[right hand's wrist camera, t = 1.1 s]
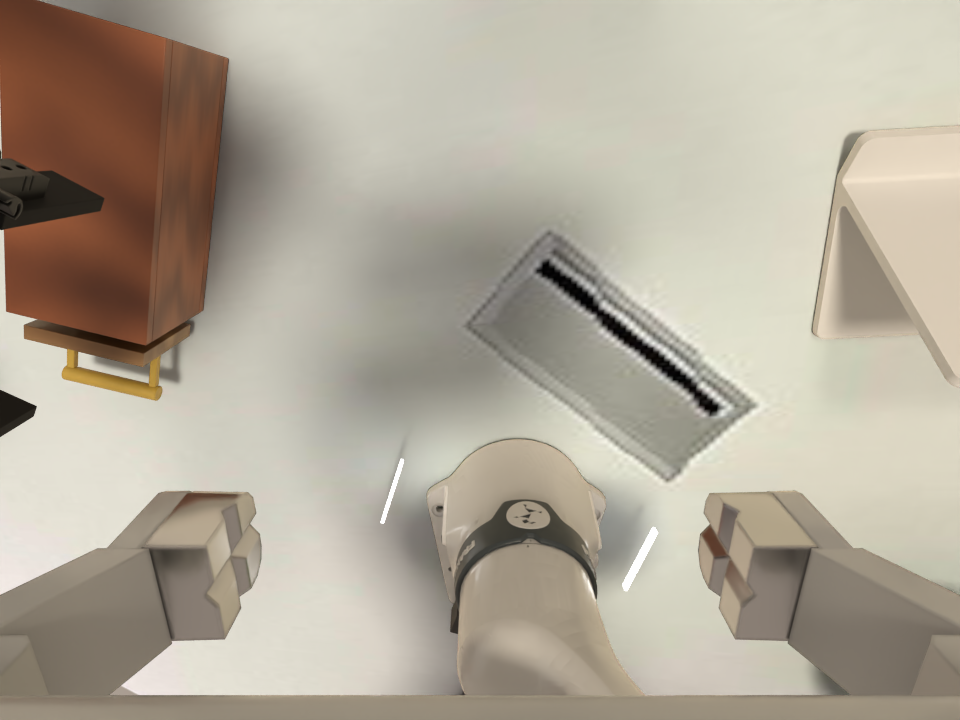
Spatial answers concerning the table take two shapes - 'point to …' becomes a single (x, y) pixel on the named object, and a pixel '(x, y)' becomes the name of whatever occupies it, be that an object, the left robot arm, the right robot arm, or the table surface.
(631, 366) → the table surface
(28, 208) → the left robot arm
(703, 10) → the table surface
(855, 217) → the tablet stand
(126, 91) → the cabinet
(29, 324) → the drawer
